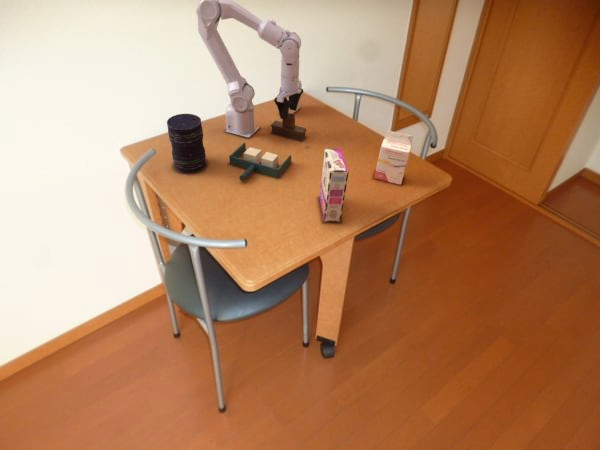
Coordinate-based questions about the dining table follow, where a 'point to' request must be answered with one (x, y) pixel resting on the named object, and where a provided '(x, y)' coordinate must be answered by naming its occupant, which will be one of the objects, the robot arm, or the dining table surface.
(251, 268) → the dining table surface
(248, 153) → the beige cube
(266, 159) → the cream white cube
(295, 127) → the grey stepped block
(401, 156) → the ink cartridge box
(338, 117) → the dining table surface
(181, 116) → the storage jar
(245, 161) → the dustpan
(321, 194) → the candy bar box
